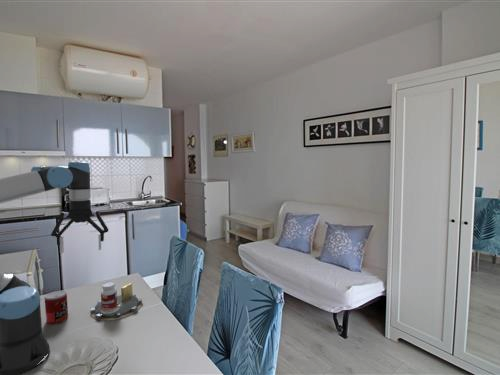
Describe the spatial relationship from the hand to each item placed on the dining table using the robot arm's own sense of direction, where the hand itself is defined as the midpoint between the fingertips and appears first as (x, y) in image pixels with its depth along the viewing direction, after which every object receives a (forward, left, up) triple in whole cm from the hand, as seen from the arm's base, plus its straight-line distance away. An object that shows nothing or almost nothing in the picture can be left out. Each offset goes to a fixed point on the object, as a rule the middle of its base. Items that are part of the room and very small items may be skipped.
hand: (81, 250), depth 119 cm
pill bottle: (+1, -9, -28) cm, 29 cm away
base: (+5, -12, -30) cm, 32 cm away
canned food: (+6, +11, -30) cm, 32 cm away
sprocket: (+5, -12, -30) cm, 32 cm away
